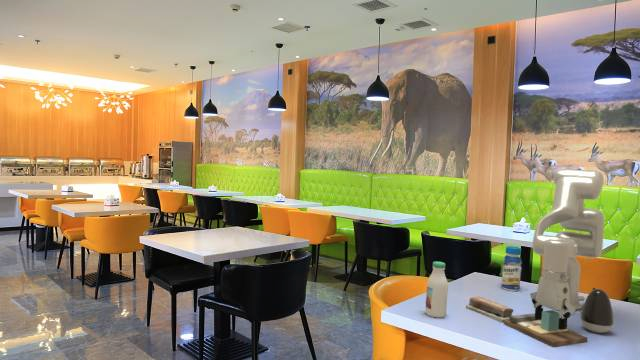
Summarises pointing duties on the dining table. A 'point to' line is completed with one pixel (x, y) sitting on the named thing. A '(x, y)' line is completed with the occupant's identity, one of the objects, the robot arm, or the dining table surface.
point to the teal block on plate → (547, 323)
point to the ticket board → (550, 339)
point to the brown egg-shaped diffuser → (597, 312)
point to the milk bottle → (437, 292)
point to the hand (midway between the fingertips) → (550, 324)
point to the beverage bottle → (511, 269)
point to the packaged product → (490, 309)
